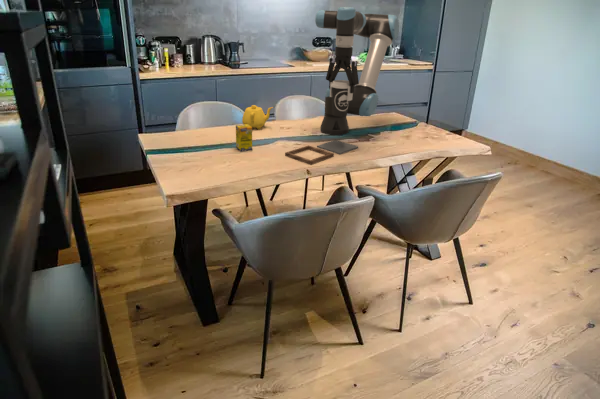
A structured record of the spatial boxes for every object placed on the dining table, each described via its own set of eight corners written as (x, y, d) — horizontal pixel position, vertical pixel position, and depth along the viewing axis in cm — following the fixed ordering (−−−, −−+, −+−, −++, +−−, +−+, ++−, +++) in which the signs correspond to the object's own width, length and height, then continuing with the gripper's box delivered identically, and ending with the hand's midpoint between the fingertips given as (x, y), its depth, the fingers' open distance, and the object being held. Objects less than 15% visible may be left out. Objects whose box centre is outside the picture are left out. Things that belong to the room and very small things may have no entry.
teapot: (253, 132, 226) (253, 110, 221) (236, 127, 235) (235, 105, 230) (273, 128, 235) (273, 106, 230) (256, 122, 244) (255, 101, 239)
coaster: (316, 147, 207) (317, 145, 206) (335, 141, 216) (335, 139, 216) (340, 154, 198) (340, 152, 198) (358, 148, 208) (358, 146, 207)
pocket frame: (285, 155, 195) (285, 152, 194) (308, 148, 205) (308, 145, 204) (310, 164, 185) (310, 161, 185) (333, 156, 196) (333, 153, 195)
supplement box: (240, 151, 198) (239, 128, 193) (236, 148, 203) (235, 125, 198) (252, 150, 200) (252, 127, 196) (248, 146, 205) (247, 123, 201)
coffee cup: (352, 113, 203) (355, 81, 196) (346, 118, 195) (348, 84, 188) (333, 111, 206) (335, 78, 200) (326, 115, 198) (327, 82, 192)
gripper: (319, 44, 192) (317, 95, 202) (359, 49, 178) (355, 104, 188) (330, 43, 197) (327, 93, 207) (370, 48, 183) (365, 101, 193)
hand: (340, 98), depth 197 cm, fingers closed on coffee cup, 9 cm apart
